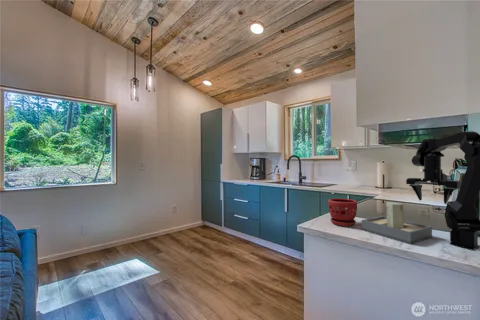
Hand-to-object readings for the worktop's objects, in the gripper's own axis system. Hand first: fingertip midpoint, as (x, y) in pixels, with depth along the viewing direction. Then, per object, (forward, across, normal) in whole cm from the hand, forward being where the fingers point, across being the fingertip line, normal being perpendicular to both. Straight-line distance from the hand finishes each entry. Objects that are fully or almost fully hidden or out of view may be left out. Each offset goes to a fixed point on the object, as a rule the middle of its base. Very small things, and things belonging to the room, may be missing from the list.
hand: (432, 202), depth 101 cm
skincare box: (+12, +6, +18) cm, 22 cm away
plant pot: (+13, +27, +25) cm, 39 cm away
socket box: (+13, +6, +18) cm, 23 cm away
